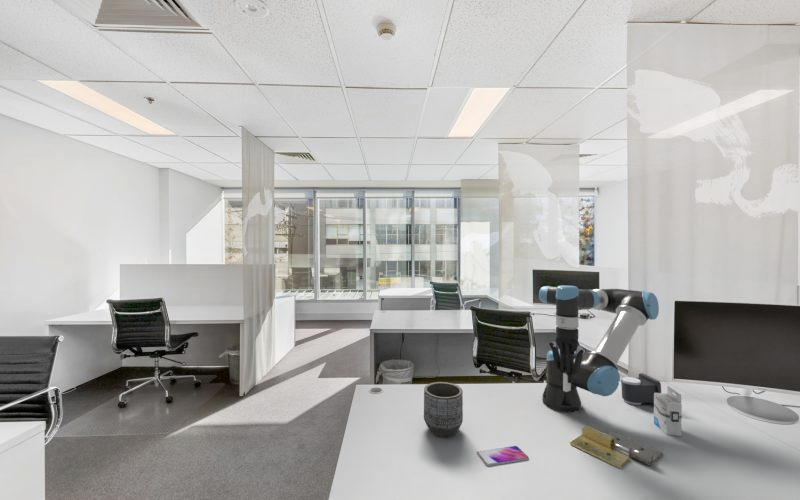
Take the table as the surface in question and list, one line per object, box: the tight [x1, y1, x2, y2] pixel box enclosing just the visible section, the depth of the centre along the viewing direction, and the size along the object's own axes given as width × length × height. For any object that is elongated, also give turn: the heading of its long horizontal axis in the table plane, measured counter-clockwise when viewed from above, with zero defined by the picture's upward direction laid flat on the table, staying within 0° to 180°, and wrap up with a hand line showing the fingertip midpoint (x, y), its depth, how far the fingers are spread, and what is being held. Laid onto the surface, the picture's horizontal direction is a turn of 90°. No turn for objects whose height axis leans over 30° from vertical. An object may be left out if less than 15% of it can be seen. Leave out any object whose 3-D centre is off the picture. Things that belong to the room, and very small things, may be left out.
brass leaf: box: [569, 425, 631, 469], centre depth 108 cm, size 15×11×3 cm
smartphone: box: [476, 445, 530, 467], centre depth 104 cm, size 7×1×15 cm
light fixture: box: [620, 372, 662, 406], centre depth 143 cm, size 11×13×11 cm
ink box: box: [653, 385, 683, 436], centre depth 121 cm, size 9×5×15 cm, turn 168°
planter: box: [423, 381, 464, 438], centre depth 120 cm, size 14×14×15 cm
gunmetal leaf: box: [607, 431, 664, 466], centre depth 108 cm, size 15×11×3 cm
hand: (566, 390), depth 121 cm, fingers closed
